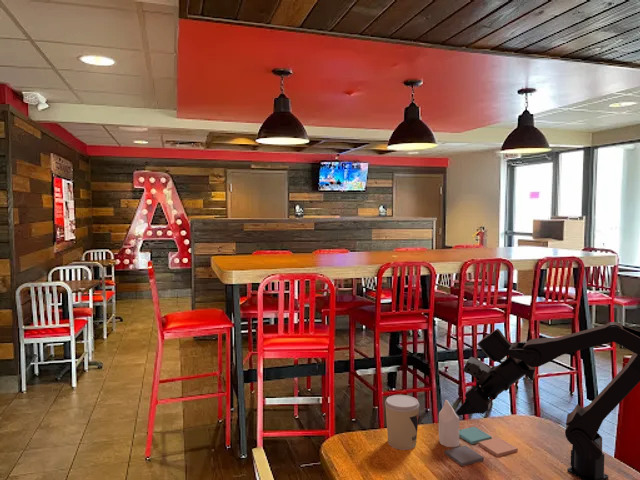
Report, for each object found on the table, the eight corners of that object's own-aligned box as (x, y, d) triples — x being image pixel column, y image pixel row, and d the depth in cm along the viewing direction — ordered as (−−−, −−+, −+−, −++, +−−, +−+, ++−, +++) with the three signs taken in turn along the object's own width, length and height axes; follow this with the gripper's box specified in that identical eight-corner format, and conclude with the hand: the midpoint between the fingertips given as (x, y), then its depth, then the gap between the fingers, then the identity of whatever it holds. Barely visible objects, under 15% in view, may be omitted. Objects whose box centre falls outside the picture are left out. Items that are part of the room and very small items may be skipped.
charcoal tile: (483, 460, 123) (483, 457, 123) (461, 466, 121) (461, 463, 121) (465, 448, 130) (465, 445, 130) (444, 453, 127) (444, 450, 127)
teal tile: (491, 439, 135) (491, 436, 135) (471, 444, 132) (471, 441, 132) (474, 429, 141) (474, 426, 141) (455, 433, 138) (455, 431, 138)
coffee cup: (419, 452, 127) (419, 408, 127) (383, 449, 129) (383, 406, 129) (419, 436, 137) (419, 395, 136) (386, 434, 139) (386, 393, 138)
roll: (463, 403, 130) (444, 405, 129) (463, 446, 131) (444, 448, 130) (453, 395, 136) (434, 396, 135) (453, 436, 137) (434, 438, 136)
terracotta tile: (517, 451, 128) (517, 448, 128) (497, 456, 125) (497, 453, 125) (498, 440, 134) (498, 437, 134) (478, 444, 132) (478, 442, 132)
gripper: (489, 341, 135) (450, 373, 141) (474, 359, 119) (430, 394, 125) (519, 373, 132) (477, 405, 138) (507, 396, 116) (460, 430, 122)
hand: (461, 407), depth 131 cm, fingers open, 9 cm apart
